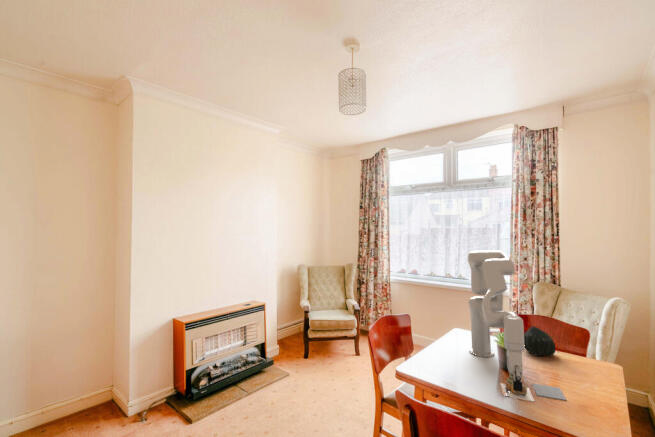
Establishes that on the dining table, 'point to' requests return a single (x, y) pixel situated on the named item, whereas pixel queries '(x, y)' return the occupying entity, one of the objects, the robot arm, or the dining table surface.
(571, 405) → the dining table surface
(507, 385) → the ornament
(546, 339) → the squash
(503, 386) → the tile
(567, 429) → the dining table surface
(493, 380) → the dining table surface
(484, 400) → the dining table surface
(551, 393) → the grey mat
